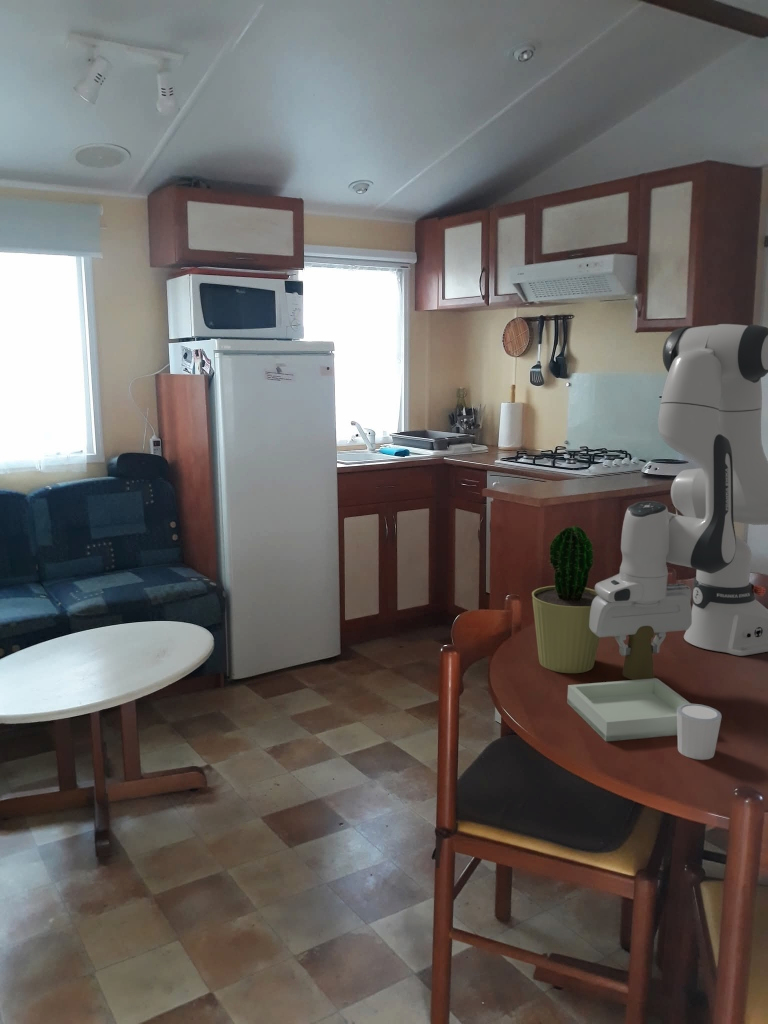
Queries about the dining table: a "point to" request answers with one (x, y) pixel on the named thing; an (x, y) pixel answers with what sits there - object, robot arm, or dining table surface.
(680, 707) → the white cup
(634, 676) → the olive brown pawn
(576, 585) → the potted cactus
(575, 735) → the dining table surface
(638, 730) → the tray
